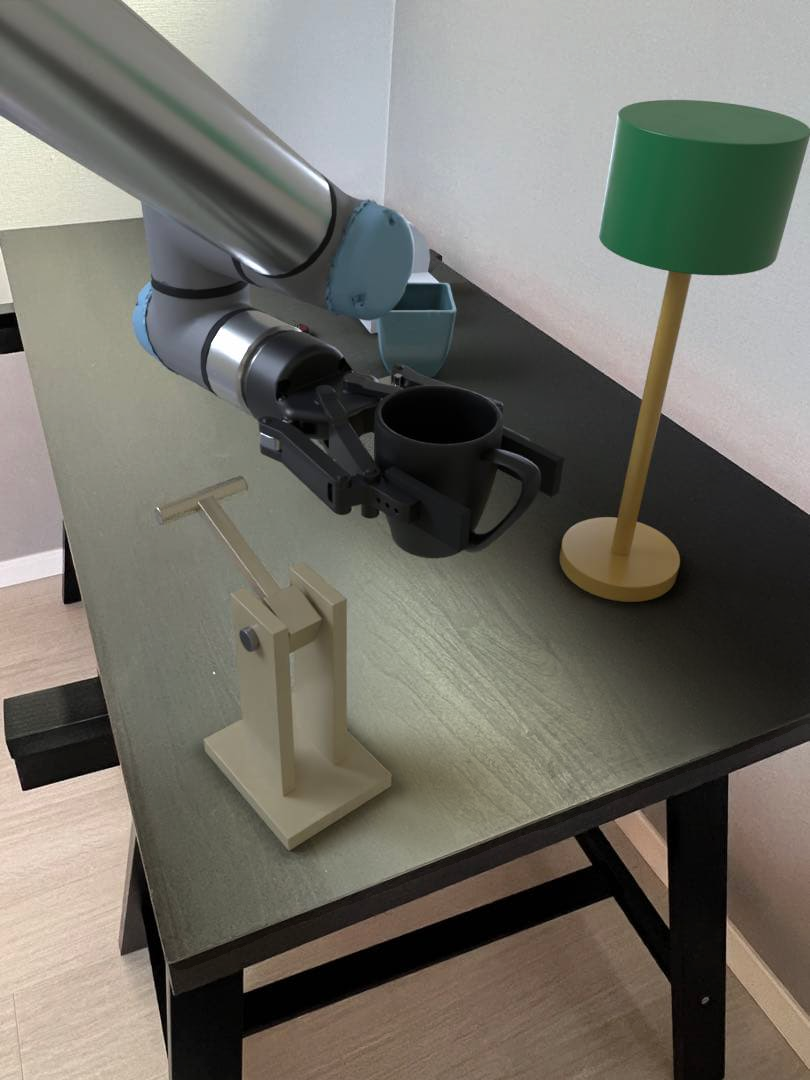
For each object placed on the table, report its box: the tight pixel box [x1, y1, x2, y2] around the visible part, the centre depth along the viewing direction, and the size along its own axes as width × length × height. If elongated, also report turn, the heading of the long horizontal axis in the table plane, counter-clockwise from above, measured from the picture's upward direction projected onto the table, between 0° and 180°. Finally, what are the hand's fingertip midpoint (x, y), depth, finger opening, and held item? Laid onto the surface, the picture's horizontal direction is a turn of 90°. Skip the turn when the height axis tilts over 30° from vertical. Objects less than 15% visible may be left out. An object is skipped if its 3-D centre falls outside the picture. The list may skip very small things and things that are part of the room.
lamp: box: [559, 99, 810, 603], centre depth 71 cm, size 12×12×36 cm
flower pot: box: [377, 282, 457, 378], centre depth 108 cm, size 9×9×9 cm
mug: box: [373, 385, 541, 559], centre depth 62 cm, size 8×12×10 cm
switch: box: [153, 475, 322, 655], centre depth 57 cm, size 12×6×2 cm, turn 40°
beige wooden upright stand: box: [203, 561, 392, 852], centre depth 58 cm, size 10×8×15 cm
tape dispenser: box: [358, 216, 440, 334], centre depth 124 cm, size 20×11×11 cm, turn 21°
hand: (513, 503), depth 58 cm, fingers closed on mug, 8 cm apart
